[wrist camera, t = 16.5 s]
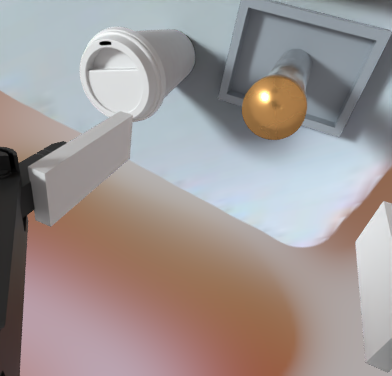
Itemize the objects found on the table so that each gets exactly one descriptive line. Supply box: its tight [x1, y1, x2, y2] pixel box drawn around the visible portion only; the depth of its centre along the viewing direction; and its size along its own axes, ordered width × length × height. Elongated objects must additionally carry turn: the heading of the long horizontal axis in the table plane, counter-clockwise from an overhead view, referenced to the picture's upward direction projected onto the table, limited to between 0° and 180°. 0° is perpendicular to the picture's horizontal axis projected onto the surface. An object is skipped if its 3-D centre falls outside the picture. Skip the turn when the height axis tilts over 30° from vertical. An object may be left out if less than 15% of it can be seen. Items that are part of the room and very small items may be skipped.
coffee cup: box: [80, 27, 195, 122], centre depth 38 cm, size 10×10×15 cm
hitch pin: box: [242, 49, 312, 140], centre depth 32 cm, size 5×5×17 cm
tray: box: [218, 0, 392, 137], centre depth 38 cm, size 12×16×2 cm
